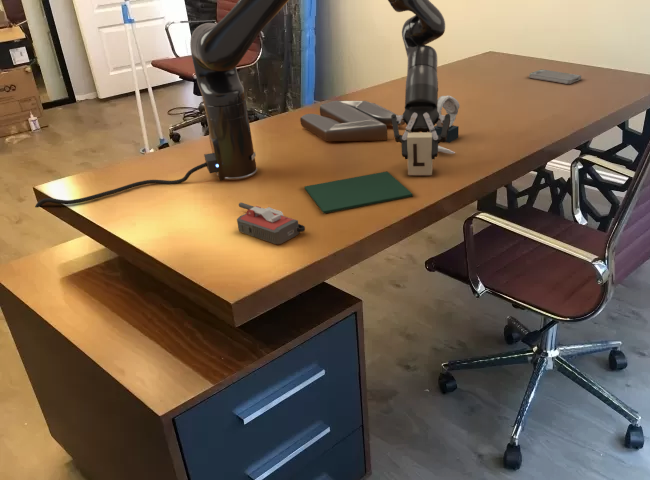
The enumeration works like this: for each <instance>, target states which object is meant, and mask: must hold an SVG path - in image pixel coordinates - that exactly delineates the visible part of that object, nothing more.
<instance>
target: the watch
mask: <svg viewBox="0 0 650 480" xmlns="http://www.w3.org/2000/svg"><path fill="white" fill-rule="evenodd" d="M460 106H461V105H460V103H459V101H458V100H457V98H455V97H453V96H451V95H441V96H438V104H437V111H438V113H439V115H442V111H443V109H444V110H445V113H446V114H450V125H449V130H448V134H447V139H446V142H445V143H452V142H454V141H456V140H457V139H459V126H458V125H454V123H455V120H456V117H457V115H458V113H459V109H460ZM442 127H443V125H441V121H440V120H438V122H437V123H436V124H435V125H434V128H435V131H436V133H437V135H440V134H441V132H442Z"/></svg>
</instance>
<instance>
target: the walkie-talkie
mask: <svg viewBox="0 0 650 480" xmlns="http://www.w3.org/2000/svg"><path fill="white" fill-rule="evenodd" d="M238 207H239V208H241V209H243V210H244V209H245V210H246V213H243V214H242V215H240V216H238V217H237V218H236V222H237V229H238V231H239V233H242V234H245V235H248V236H251V237H253V238H256V239H259V240H262V241H264V242H268V243H270V244H274V245H282V244H284V243H286V242H288V241H290V240H291V239H293V238H295V237H297V236H298V235H300V233H303V232H305V231H306V226H305V225H303V224H300V223H299V220H298V219H294V218H292V217H288V216H285V215H284V213H283V211H281V210H278V209H275V208H272V207H270V206H268V207H266V208H264V207H262V206H257V205H255V206H253V205H250V204H248V203H244V202H239V203H238Z"/></svg>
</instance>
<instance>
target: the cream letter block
mask: <svg viewBox="0 0 650 480" xmlns="http://www.w3.org/2000/svg"><path fill="white" fill-rule="evenodd" d="M407 151H408V159H407V176H432V175H433V159H432V157H431V154H432V133H430V132H410V133H408V136H407Z"/></svg>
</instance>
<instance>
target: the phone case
mask: <svg viewBox="0 0 650 480" xmlns="http://www.w3.org/2000/svg"><path fill="white" fill-rule="evenodd" d="M528 76H529V77H528V78H529V79H535V80H540V81H547V82H551V83H552V82H553V83H559V84H564V85H572V84H574V83H576V82H578V81H581V80H582V75H581V74H575V73H568V72H564V71H563V72H562V71H557V70H556V71H555V70H549V69H538V70H535V71H533V72H532V71H531V72H530V73H529V74H528Z"/></svg>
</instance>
